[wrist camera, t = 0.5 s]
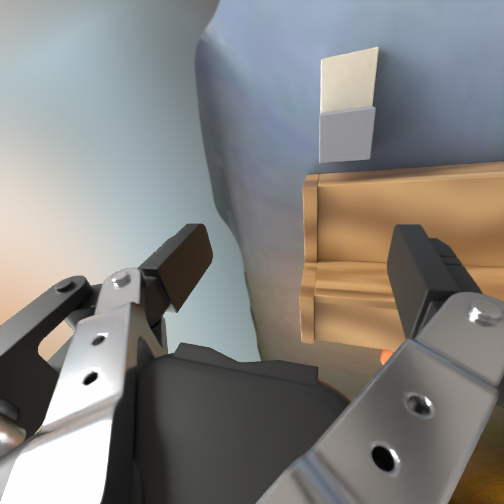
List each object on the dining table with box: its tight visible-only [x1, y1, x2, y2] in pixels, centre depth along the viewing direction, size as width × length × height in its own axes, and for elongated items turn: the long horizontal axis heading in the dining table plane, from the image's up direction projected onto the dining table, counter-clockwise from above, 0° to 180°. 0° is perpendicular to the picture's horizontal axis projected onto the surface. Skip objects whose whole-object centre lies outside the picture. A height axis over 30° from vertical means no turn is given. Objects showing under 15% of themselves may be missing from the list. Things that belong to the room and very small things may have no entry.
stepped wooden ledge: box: [299, 161, 504, 351], centre depth 23 cm, size 16×23×11 cm
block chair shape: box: [319, 47, 379, 163], centre depth 21 cm, size 8×4×4 cm, turn 9°
